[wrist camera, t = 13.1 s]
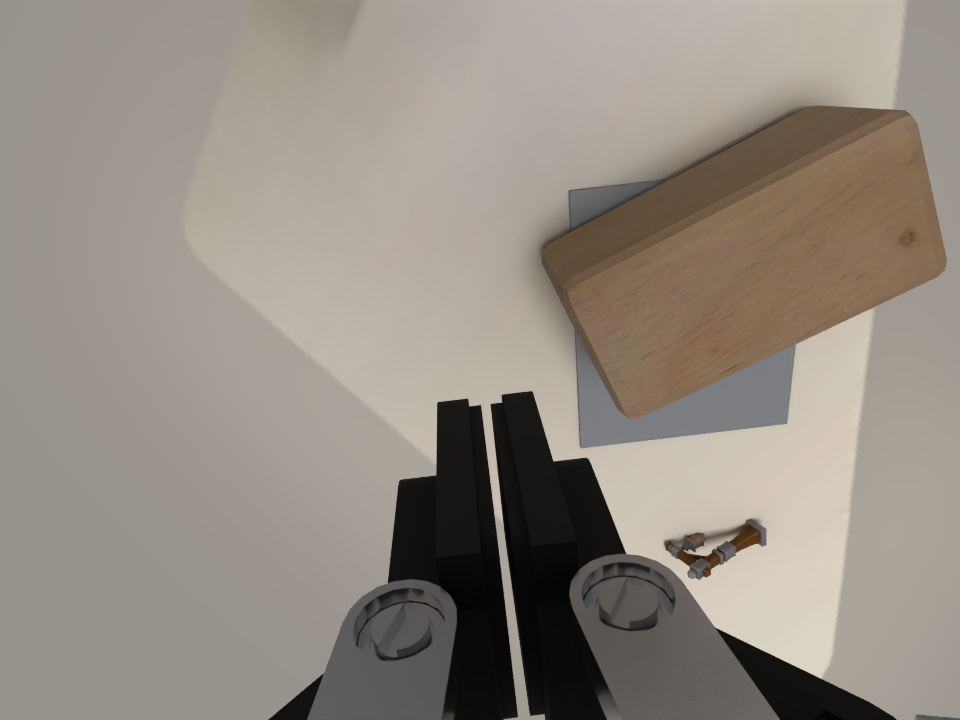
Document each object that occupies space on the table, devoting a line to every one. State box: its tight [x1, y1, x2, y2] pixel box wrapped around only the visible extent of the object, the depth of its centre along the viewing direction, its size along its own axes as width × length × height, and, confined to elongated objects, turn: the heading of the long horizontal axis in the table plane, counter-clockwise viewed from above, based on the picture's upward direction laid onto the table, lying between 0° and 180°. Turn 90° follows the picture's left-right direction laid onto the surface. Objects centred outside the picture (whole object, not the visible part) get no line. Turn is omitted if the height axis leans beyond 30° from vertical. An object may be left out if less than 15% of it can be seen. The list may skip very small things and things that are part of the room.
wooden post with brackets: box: [665, 519, 766, 580], centre depth 53 cm, size 2×8×4 cm, turn 100°
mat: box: [569, 179, 796, 448], centre depth 46 cm, size 20×16×1 cm
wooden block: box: [542, 106, 947, 419], centre depth 39 cm, size 10×10×20 cm
